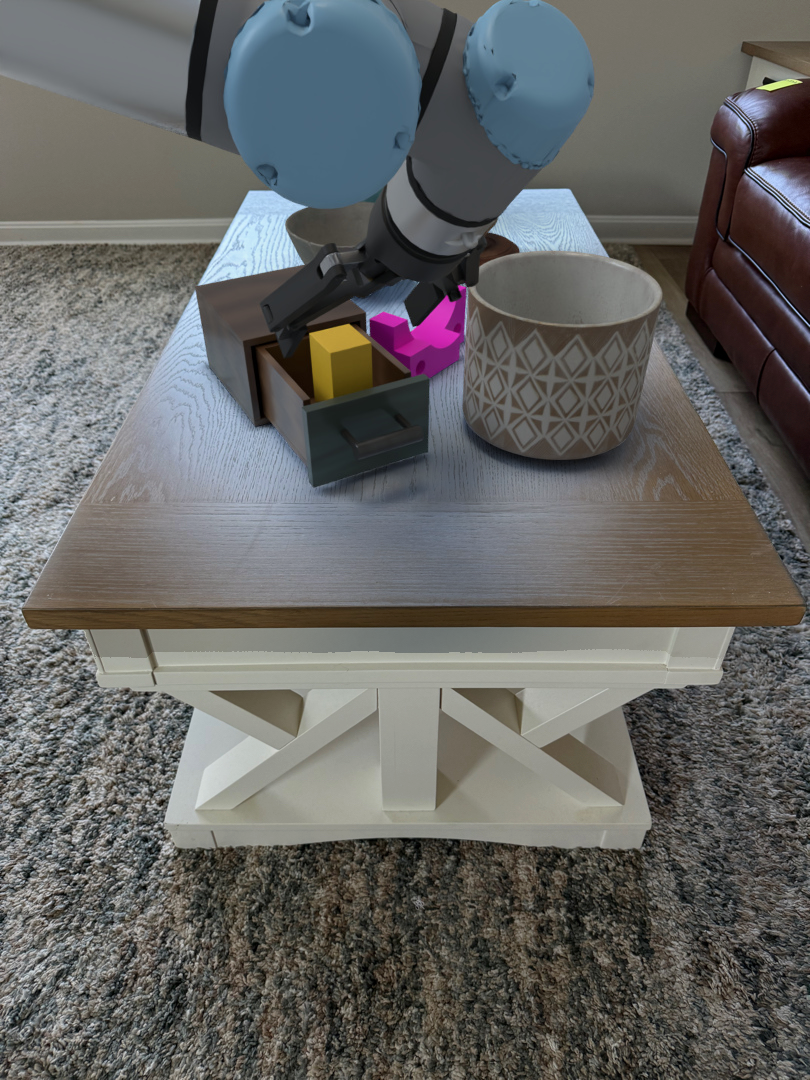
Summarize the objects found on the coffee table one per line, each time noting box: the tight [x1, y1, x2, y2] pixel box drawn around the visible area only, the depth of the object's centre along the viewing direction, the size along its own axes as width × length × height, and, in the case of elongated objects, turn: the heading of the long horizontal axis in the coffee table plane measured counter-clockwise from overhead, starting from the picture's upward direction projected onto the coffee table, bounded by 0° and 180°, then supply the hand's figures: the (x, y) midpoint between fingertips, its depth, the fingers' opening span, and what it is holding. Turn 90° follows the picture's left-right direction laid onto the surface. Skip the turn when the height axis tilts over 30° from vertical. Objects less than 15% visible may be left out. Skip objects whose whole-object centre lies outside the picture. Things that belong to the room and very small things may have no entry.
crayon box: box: [309, 324, 373, 403], centre depth 81 cm, size 4×5×11 cm
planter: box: [461, 250, 664, 461], centre depth 85 cm, size 19×19×16 cm
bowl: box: [284, 202, 374, 285], centre depth 117 cm, size 19×19×10 cm
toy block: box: [368, 285, 468, 379], centre depth 99 cm, size 15×6×8 cm, turn 142°
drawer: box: [255, 323, 431, 489], centre depth 82 cm, size 20×13×9 cm
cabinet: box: [194, 264, 368, 427], centre depth 94 cm, size 17×15×11 cm
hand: (349, 328), depth 75 cm, fingers open, 13 cm apart
